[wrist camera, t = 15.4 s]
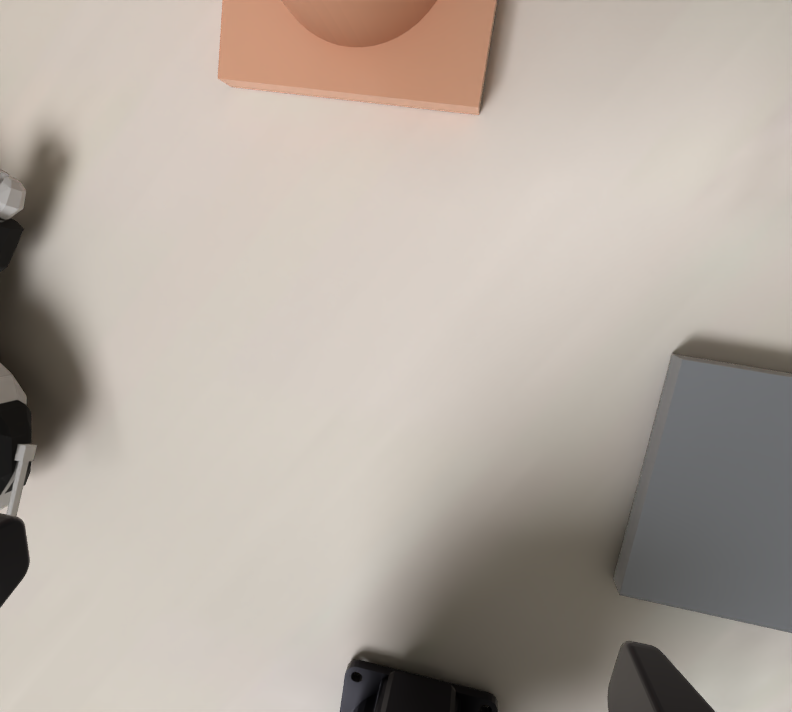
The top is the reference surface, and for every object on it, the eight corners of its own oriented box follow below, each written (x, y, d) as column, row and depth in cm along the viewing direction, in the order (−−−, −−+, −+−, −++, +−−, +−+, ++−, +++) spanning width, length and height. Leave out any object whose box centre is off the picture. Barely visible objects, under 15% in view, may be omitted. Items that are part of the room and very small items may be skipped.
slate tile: (866, 633, 20) (886, 653, 19) (613, 578, 21) (619, 594, 20) (957, 400, 18) (985, 409, 17) (672, 353, 19) (682, 359, 18)
